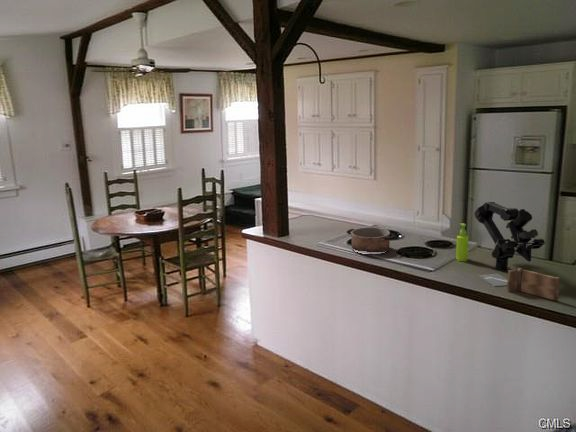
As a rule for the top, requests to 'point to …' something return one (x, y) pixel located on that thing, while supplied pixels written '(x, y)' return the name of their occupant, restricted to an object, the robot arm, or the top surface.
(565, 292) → the top surface
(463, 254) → the soap dispenser
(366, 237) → the cooking pot
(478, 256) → the top surface
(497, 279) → the card
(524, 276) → the fence gate
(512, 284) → the fence post
